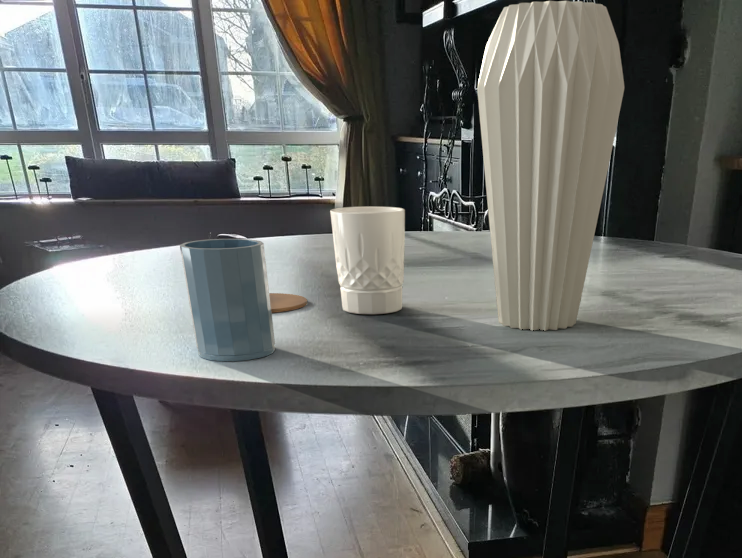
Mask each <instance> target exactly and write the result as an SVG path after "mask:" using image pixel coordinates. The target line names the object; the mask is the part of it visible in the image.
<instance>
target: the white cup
mask: <svg viewBox="0 0 742 558" xmlns="http://www.w3.org/2000/svg"><path fill="white" fill-rule="evenodd" d="M329 213H330V222H331V223H330V224H331V230H332V241H333V249H334V257H335V266H336V273H337V282H338V284H339V286H340V287H339V289H340V298H341V307H342V310H343V311H344V312H347V313H349V314H350V313H351V314H357V315H383V314H384V315H385V314H393V313H396V312H399V311H400V310H402V309H403V288H404V286H403V284H404V282H405V279H404V278H405V277H404V275H405V250H406V246H405V245H406V209H405V208H402V207H395V206H345V207H336V208H332V209H330V211H329Z"/></svg>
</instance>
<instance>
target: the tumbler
mask: <svg viewBox="0 0 742 558" xmlns="http://www.w3.org/2000/svg"><path fill="white" fill-rule="evenodd" d="M179 251H180V255H181V260H182V261H181V262H182V268H183V273H184V280H185V285H186V292H187V297H188V304H189V310H190V314H191V321H192V327H193V333H194V340H195V345H196V349H197V354H198V357H200V358H201V359H205V360H208V361H215V362H243V361H251V360H256V359H262V358H264V357H267V356H269V355H272V354H273V353H274V352H275V351H276V341H275V331H274V322H273V313H271V304H270V295H269V293H270V288H269V280H268V279H269V278H268V271H267V261H266V253H265V245H264V242H263V241H261V240H257V239H250V238H249V239H248V238H247V239H246V238H214V239H213V238H212V239H210V238H209V239H200V240H193V241H192V240H191V241H187V242H182V243H181V244H179Z"/></svg>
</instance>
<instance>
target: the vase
mask: <svg viewBox="0 0 742 558" xmlns="http://www.w3.org/2000/svg"><path fill="white" fill-rule="evenodd" d="M620 49H621V48H620V43H619V40H618V37H617V34H616V32H615V28H614V25H613V22H612V20H611V16H610V14H609V11H608V8H607V6H605V5H603V4H601V3H595V2H592V1H591V2H589V1H588V2H584V1H582V0H579V1H578V0H577V1H570V0H559V1H557V0H546V1H531V2H519V3H517V4H509V5H508V6H504V7H503V8H502V11H501V12H500V14H499V17H498V19H497V21H496V24H495V25H494V27H493V29H492V31H491V34H490V36H489V37H488V41H487V42H486V45H485V49H484V53H483V58H482V63H481V67H480V73H479V78H478V81H477V86H476V87H477V88H476V89H477V100H478V101H477V102H478V113H479V114H478V115H479V124H480V137H481V146H482V156H483V157H482V158H483V168H484V180H485V190H486V200H487V213H488V225H489V233H490V235H489V236H490V245H491V257H492V268H493V278H494V289H495V298H496V309H497V320H498V321H497V322H498V324H501V325H502V327H509V328H510V329H519V330H521V331H522V329H523V330H529V329H530V331H532V332H533V330H534V331H539V329H540V331H543V330H544V332H546V331H548V330H553V331H557V330H558V329H565V330H566V329H567V328H568V327H571V328H572V327H574V325H576V324H577V320H578V315H579V310H580V306H581V302H582V301H581V300H582V297H583V293H584V286H585V282H586V277H587V273H588V268H589V262H590V259H591V258H590V257H591V253H592V248H593V243H594V239H595V233H596V228H597V224H598V219H599V214H600V209H601V204H602V200H603V194H604V190H605V186H606V180H607V176H608V170H609V167H610V161H611V157H612V156H611V155H612V151H613V146H614V141H615V136H616V131H617V127H618V124H619V123H618V122H619V116H620V111H621V108H622V102H623V99H624V98H623V97H624V93H625V81H624V80H625V79H624V73H623V64H622V58H621V50H620Z"/></svg>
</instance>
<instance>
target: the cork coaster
mask: <svg viewBox="0 0 742 558" xmlns="http://www.w3.org/2000/svg"><path fill="white" fill-rule="evenodd" d="M269 295H270V304H271V313H272V314H275V313H276V314H277V313H284V312H290V311H294V310H295V311H296V310H299V309H302V308H304V307H306V306H307V305H308V299H307V297H304V296H302V295H300V294H299V295H298V294H293V293H283V292H282V293H280V292H279V293H278V292H269Z"/></svg>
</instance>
